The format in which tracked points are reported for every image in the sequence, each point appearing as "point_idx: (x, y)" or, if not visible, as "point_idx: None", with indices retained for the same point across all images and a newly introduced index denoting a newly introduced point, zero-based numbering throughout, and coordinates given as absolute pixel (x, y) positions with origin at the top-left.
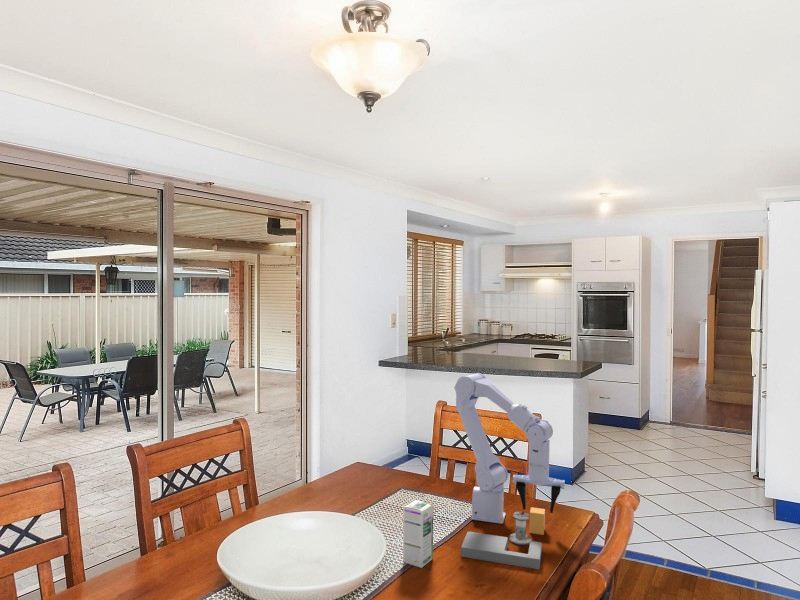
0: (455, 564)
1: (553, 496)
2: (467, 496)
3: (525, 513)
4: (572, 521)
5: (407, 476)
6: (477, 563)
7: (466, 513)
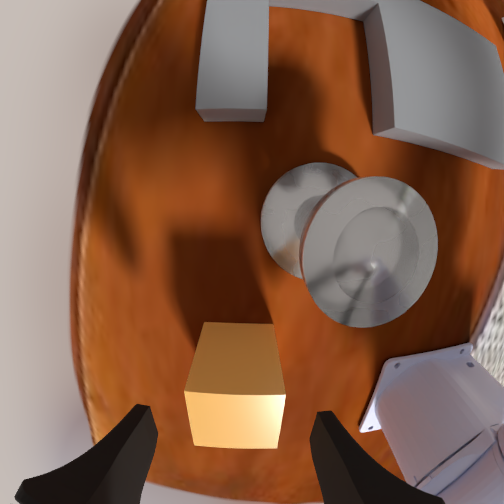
0: (467, 16)
1: (77, 483)
2: None
3: (338, 304)
4: None
5: None
6: None
7: None
